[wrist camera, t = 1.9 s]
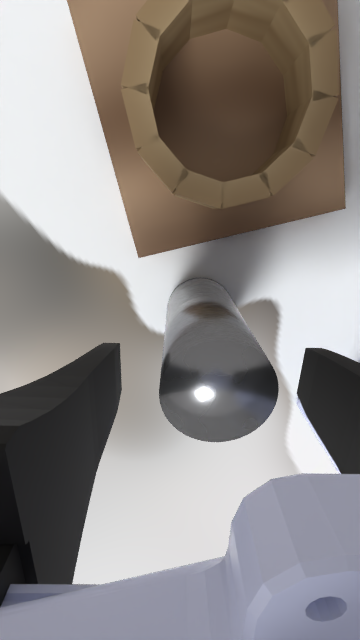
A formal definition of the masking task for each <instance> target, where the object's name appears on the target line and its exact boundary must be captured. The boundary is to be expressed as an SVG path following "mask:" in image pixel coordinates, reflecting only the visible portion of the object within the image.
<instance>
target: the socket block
mask: <svg viewBox="0 0 360 640" xmlns="http://www.w3.org/2000/svg"><path fill="white" fill-rule="evenodd" d="M67 2H68V6H69V9H70V13H71V17H72V20H73V24H74V27H75V31H76V35H77V38H78V42H79V45H80V49H81V53H82V56H83V60H84V63H85V67H86V71H87V74H88V78H89V81H90V85H91V89H92V92H93V96H94V99H95V103H96V106H97V110H98V114H99V117H100V121H101V124H102V128H103V132H104V135H105V139H106V142H107V146H108V150H109V153H110V157H111V160H112V164H113V168H114V171H115V175H116V178H117V182H118V186H119V189H120V193H121V196H122V200H123V204H124V207H125V211H126V214H127V218H128V221H129V225H130V229H131V232H132V236H133V239H134V243H135V247H136V250H137V254H138V257H139V258H140V257H145V256H149V255H153V254H157V253H161V252H165V251H170V250H174V249H178V248H182V247H186V246H191V245H195V244H199V243H203V242H207V241H211V240H216V239H220V238H224V237H228V236H232V235H237V234H241V233H245V232H249V231H253V230H258V229H262V228H266V227H270V226H274V225H278V224H283V223H287V222H291V221H295V220H299V219H304V218H308V217H312V216H316V215H320V214H324V213H329V212H333V211H337V210H341V209H345V208H346V207H345V181H344V156H343V130H342V105H341V79H340V54H339V28H338V3H337V0H67Z"/></svg>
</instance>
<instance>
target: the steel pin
mask: <svg viewBox="0 0 360 640" xmlns="http://www.w3.org/2000/svg"><path fill="white" fill-rule="evenodd" d="M277 397H278V380H277V376H276V373H275V371H274V369H273V367H272V365H271V364H270V362H269V360H268V358H267V357H266V355H265V353H264V352H263V350H262V348H261V347H260V345H259V343H258V342H257V340H256V338H255V337H254V335H253V333H252V332H251V330H250V329H249V327H248V325H247V324H246V322H245V320H244V319H243V317H242V315H241V314H240V312H239V310H238V309H237V307H236V305H235V304H234V302H233V300H232V299H231V297H230V296H229V294H228V292H227V291H226V290H225V288H224V287H223V286H221V285H220V284H219V283H217V282H215V281H213V280H210V279H206V278H196V279H191V280H188V281H186V282H184V283H182V284H181V285H179V286H178V287H177V288H176V289H175V290H174V291H173V293H172V295H171V296H170V299H169V302H168V307H167V316H166V327H165V337H164V347H163V357H162V368H161V378H160V389H159V398H160V404H161V407H162V410H163V412H164V414H165V416H166V418H167V419H168V421H169V422H170V423H171V424H172V425H173V426H174V427H175V428H176V429H177V430H179V431H180V432H182V433H183V434H185V435H187V436H189V437H191V438H194V439H198V440H202V441H208V442H224V441H230V440H235V439H238V438H241V437H243V436H245V435H248V434H249V433H251V432H253V431H254V430H256V429H257V428H258V427H260V426H261V425H262V424H263V423H264V422H265V420H266V419H267V418H268V417H269V415H270V414H271V413H272V411H273V409H274V407H275V405H276V401H277Z"/></svg>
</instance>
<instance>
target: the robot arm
mask: <svg viewBox="0 0 360 640" xmlns="http://www.w3.org/2000/svg"><path fill="white" fill-rule="evenodd" d="M121 390H122V388H121V363H120V343H103V344H101V345H99V346H97V347H95V348H94V349H92V350H91V351H89V352H88V353H86V354H84V355H83V356H81V357H79V358H78V359H76V360H75V361H73V362H71V363H70V364H68V365H66V366H64V367H62V368H60V369H59V370H57V371H55V372H53V373H51V374H49V375H47V376H45V377H43V378H41V379H38V380H36V381H34V382H31V383H29V384H27V385H24V386H21V387H19V388H16V389H13V390H10V391H7V392H4V393H1V394H0V640H360V363H358V362H356V361H354V360H352V359H349V358H347V357H345V356H342V355H340V354H337V353H335V352H332V351H329V350H326V349H323V348H306V349H305V354H304V359H303V365H302V370H301V375H300V380H299V385H298V390H297V395H298V397H299V399H298V401H297V406H298V407H299V409H300V411H301V412H302V414H303V416H304V417H305V419H306V420H307V422H308V424H309V425H310V427H311V429H312V430H313V432H314V433H315V435H316V437H317V438H318V440H319V442H320V443H321V445H322V446H323V448H324V450H325V451H326V453H327V455H328V456H329V458H330V459H331V461H332V463H333V464H334V466H335V468H336V469H337V471H338V472H339V474H304V473H302V474H297V475H291V476H286V477H280V478H275V479H271V480H269V481H268V482H266V483H265V484H263V485H262V486H260V487H259V488H257V489H256V490H254V491H253V492H251V493H250V494H248V495H247V496H246V497H244V498H243V500H242V502H241V504H240V506H239V508H238V510H237V512H236V514H235V516H234V518H233V520H232V523H231V530H230V538H229V546H228V549H227V552H226V555H225V556H224V557H220V558H215V559H211V560H206V561H202V562H198V563H194V564H189V565H185V566H181V567H176V568H172V569H167V570H163V571H158V572H154V573H150V574H145V575H141V576H137V577H132V578H128V579H123V580H120V581H115V582H110V583H106V584H102V585H87V584H86V585H83V584H81V585H80V584H79V585H78V584H72V582H73V576H74V571H75V566H76V562H77V557H78V552H79V547H80V541H81V537H82V532H83V528H84V523H85V519H86V514H87V510H88V505H89V501H90V496H91V492H92V488H93V484H94V479H95V476H96V472H97V469H98V465H99V462H100V459H101V456H102V453H103V450H104V448H105V445H106V442H107V439H108V436H109V434H110V431H111V428H112V425H113V422H114V419H115V416H116V413H117V410H118V405H119V400H120V395H121Z"/></svg>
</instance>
